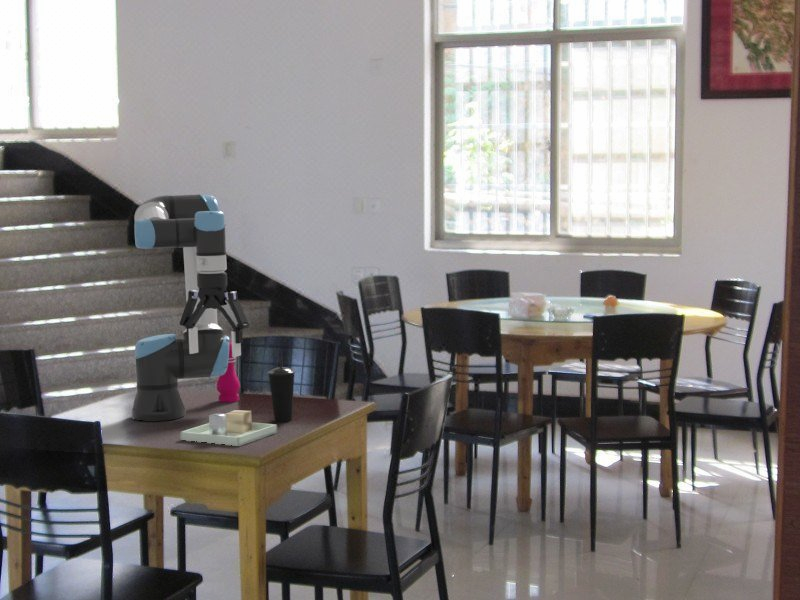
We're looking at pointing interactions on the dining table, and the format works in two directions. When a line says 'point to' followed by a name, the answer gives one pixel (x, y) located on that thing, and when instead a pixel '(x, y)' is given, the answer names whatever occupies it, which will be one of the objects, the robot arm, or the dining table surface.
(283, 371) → the drinking cup
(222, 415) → the cylinder
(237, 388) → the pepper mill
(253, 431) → the tray
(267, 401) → the dining table surface
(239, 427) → the beech block
